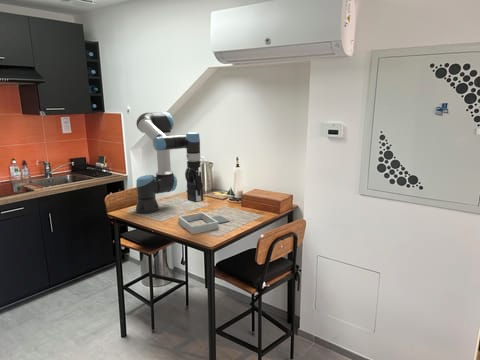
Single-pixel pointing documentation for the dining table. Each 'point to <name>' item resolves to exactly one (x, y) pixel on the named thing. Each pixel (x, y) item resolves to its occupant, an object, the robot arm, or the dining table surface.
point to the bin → (209, 226)
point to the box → (193, 192)
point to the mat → (220, 219)
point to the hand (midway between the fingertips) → (195, 198)
